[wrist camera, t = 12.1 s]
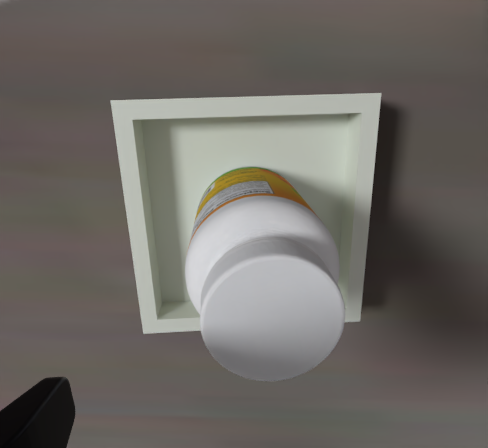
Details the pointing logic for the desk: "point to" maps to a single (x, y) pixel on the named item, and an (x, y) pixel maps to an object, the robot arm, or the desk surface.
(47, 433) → the robot arm
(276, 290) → the supplement bottle
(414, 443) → the desk surface
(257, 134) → the tray
